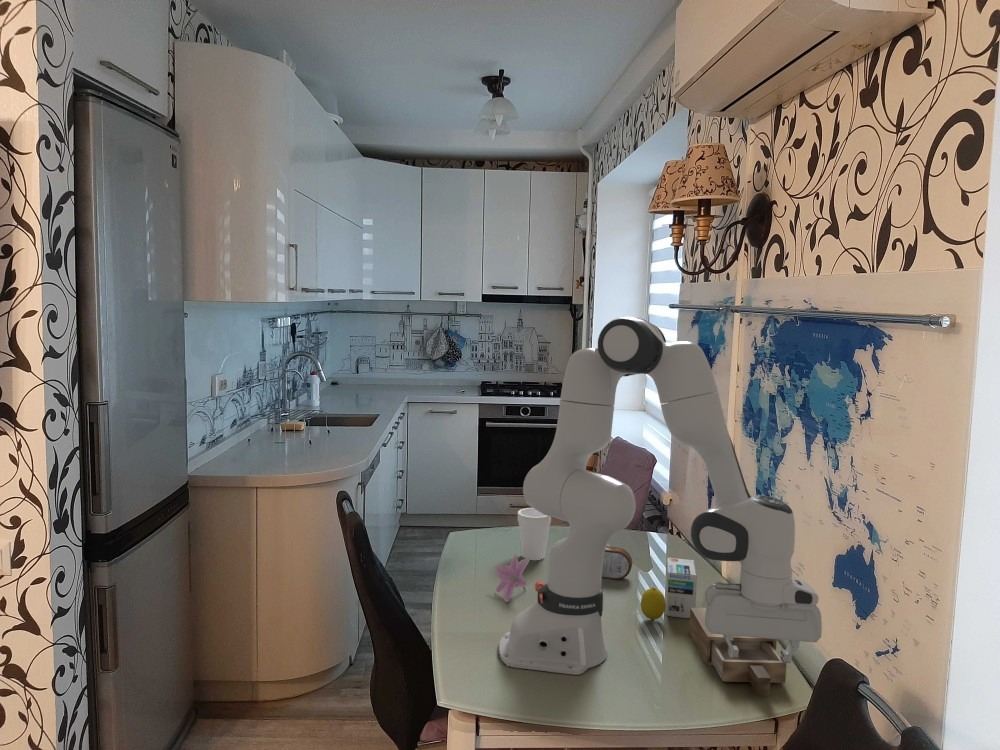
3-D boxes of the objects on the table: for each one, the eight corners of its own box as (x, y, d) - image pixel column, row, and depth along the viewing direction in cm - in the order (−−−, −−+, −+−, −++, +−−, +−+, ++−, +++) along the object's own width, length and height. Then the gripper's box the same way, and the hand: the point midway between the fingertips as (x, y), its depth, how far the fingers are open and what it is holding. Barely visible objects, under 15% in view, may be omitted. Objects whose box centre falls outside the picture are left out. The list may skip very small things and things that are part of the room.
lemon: (662, 627, 166) (664, 593, 165) (638, 623, 167) (639, 590, 167) (666, 618, 171) (667, 585, 170) (642, 614, 173) (643, 581, 172)
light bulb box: (695, 620, 170) (697, 575, 169) (665, 616, 171) (667, 572, 170) (692, 601, 181) (695, 559, 179) (665, 598, 182) (666, 556, 181)
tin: (631, 578, 195) (632, 547, 194) (631, 582, 192) (632, 551, 191) (575, 572, 198) (576, 542, 197) (573, 576, 195) (574, 545, 194)
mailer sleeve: (706, 664, 149) (707, 636, 148) (689, 633, 163) (690, 607, 162) (775, 666, 149) (776, 638, 148) (751, 634, 163) (753, 608, 162)
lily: (496, 586, 190) (483, 560, 186) (538, 570, 189) (526, 543, 185) (502, 619, 179) (488, 591, 175) (547, 602, 179) (534, 574, 175)
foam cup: (510, 557, 208) (511, 513, 206) (528, 548, 215) (529, 505, 214) (538, 565, 202) (540, 519, 201) (555, 555, 210) (557, 511, 209)
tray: (731, 695, 136) (732, 675, 136) (704, 649, 154) (705, 630, 154) (795, 696, 136) (796, 676, 136) (761, 650, 154) (762, 632, 154)
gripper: (710, 587, 131) (704, 661, 132) (828, 597, 129) (821, 672, 131) (703, 575, 138) (698, 646, 139) (816, 584, 136) (810, 656, 137)
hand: (759, 659), depth 135 cm, fingers open, 8 cm apart
